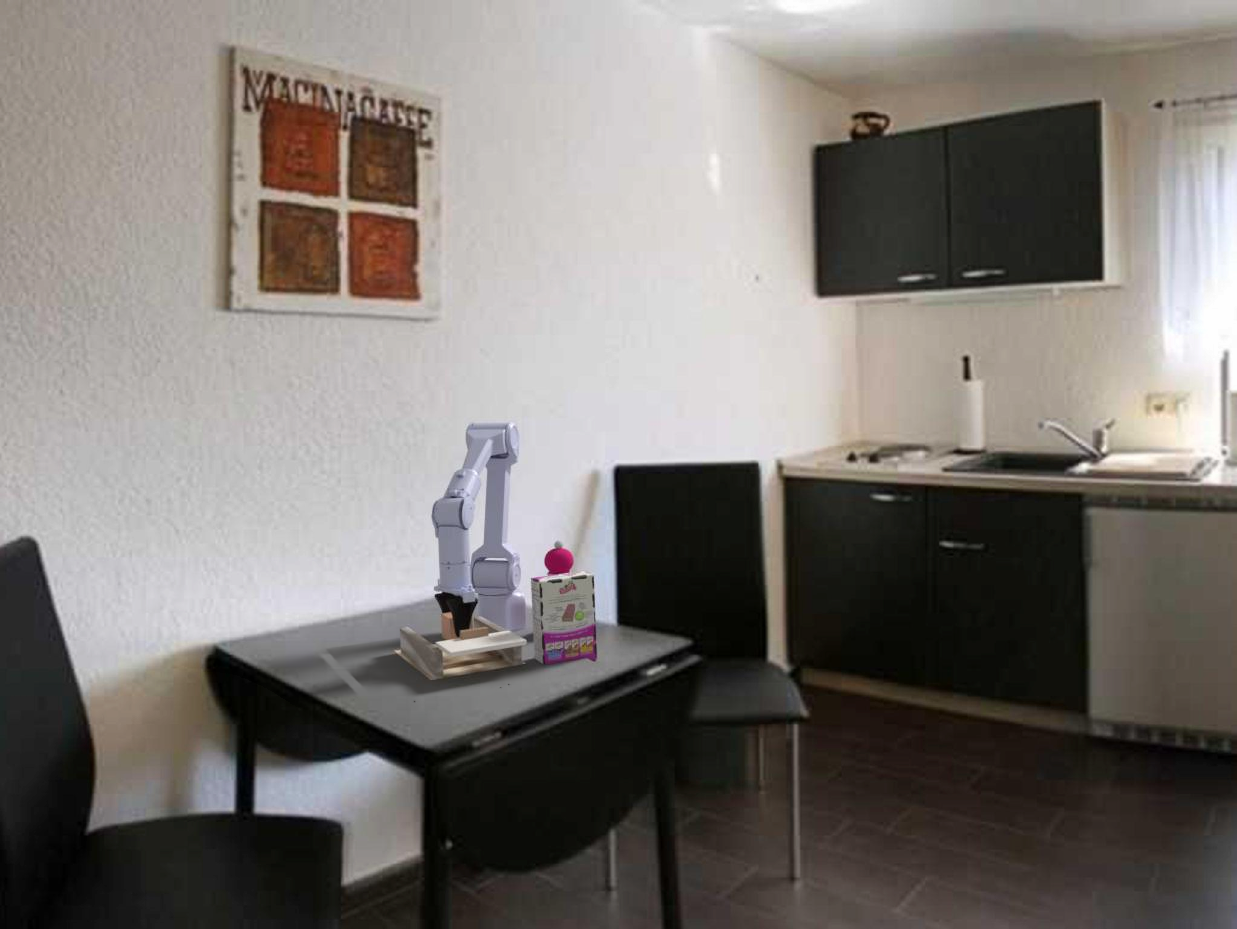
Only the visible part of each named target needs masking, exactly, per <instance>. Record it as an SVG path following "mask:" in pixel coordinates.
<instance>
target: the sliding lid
mask: <svg viewBox="0 0 1237 929" xmlns="http://www.w3.org/2000/svg"><path fill="white" fill-rule="evenodd" d="M435 644H436V647H437V648H439V649H440V650H442V651H443V652H445V653H446V654H448V655H449V656H450V657H455V656H461V655H467V654H473V653H479V652H485V651H492V650H498V649H504V648H510V647H516V646H522V647H523V646H526V645H528V641H527V639H525V638H524V637H522V636H520V635H518V634H516V633H514V632H513V631H503V632H496V633H490V634H489V633H488V628H487V627H481V628H474V627H473V629H467V630H461V631H460V638H458V639H452V640H446V639H445V640H440V641H435Z"/></svg>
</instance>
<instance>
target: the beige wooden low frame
mask: <svg viewBox="0 0 1237 929" xmlns="http://www.w3.org/2000/svg"><path fill="white" fill-rule="evenodd" d="M481 627H487V628H488V633H489V634H490V633H496V632H503V631H507V630H505V629H503V628H502V627H500V626H498V625H496V624H494V623H492V622H491V621H489V620H487V619H485V618H483V617H481V616H479V615H478V616H474V617H473V629H474V628H481ZM399 637H400V638H399V640H400V649H396V650H394V652H395V653H396V654H397V655H398V656H400V657H401V658H402V659H404V661H406V662H407V663H408V664H410V665H411V666H412V667H413V668H415V669H417V671H418V672H420V673H421V674H422V675H424V676H425V677H426V678H428V680H430V681H435V680H441V679H447V678H451V677H457V676H463V675H469V674H474V673H480V672H486V671H490V670H496V669H497V670H498V669H503V668H508V667H509V668H510V667H513V666H519V665H524V664H525V665H526V662H524V661H523V656H522V655H523V652H522V651H523V650H522V647H523V645H522V646H516V647H510V648H504V649H498V650H492V651H485V652H479V653H473V654H467V655H461V656H455V657H450V656H449V655H448V654H446V653H445V652H443V651H442V650H440V649H439V648H437V647H436V643H432V642H430V641H429V640H427V639H426V638H424V637H423V636H422V635H420V634H419V633H418V632H416V631H414V630H413V629H411V628H410V627H409V626H405V627H399Z"/></svg>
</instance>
